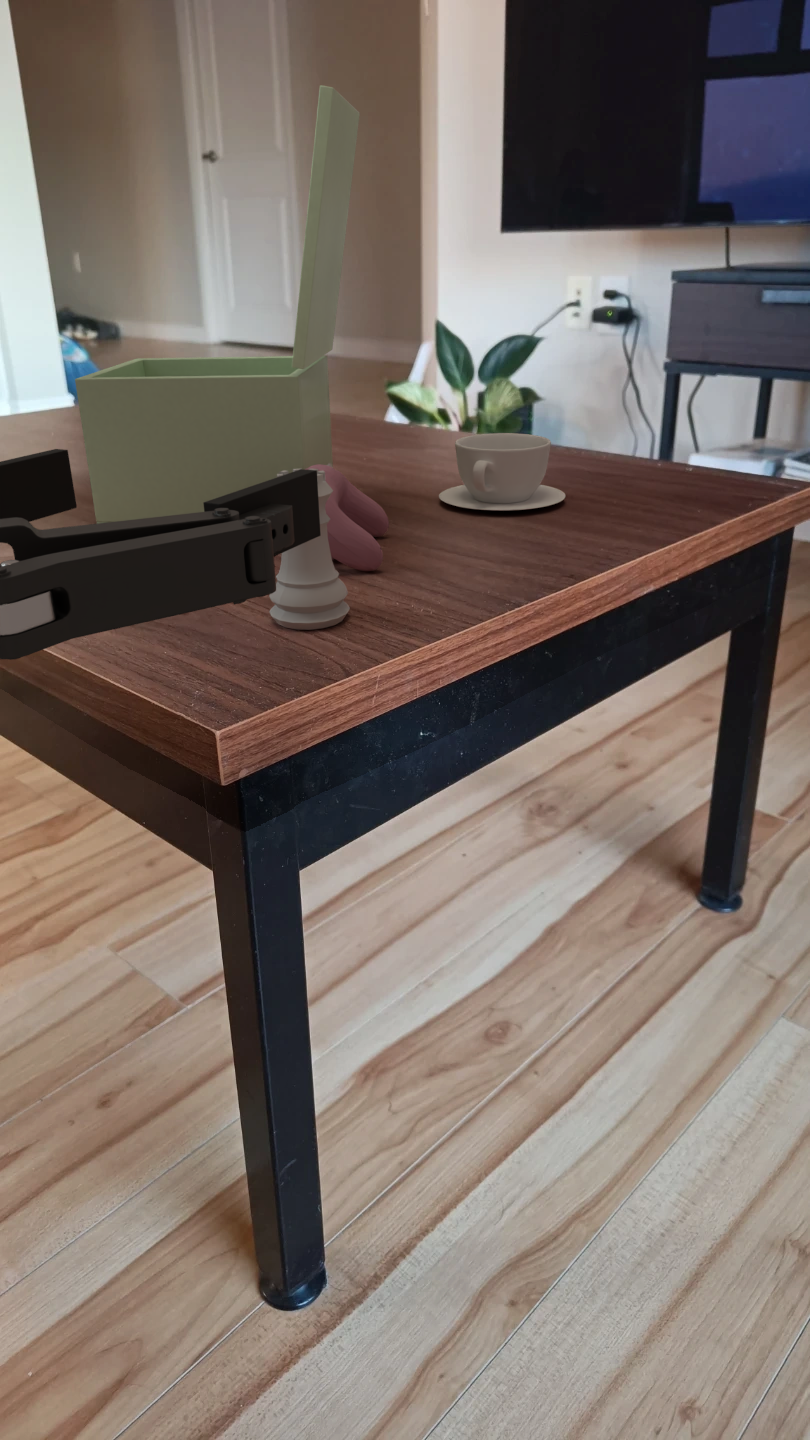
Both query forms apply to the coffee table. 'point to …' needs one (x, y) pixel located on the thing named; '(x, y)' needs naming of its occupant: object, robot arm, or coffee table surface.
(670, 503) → the coffee table surface
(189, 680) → the coffee table surface
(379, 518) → the video game controller
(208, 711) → the coffee table surface
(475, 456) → the teacup
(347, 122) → the chest lid
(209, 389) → the storage chest
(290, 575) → the rook chess piece
